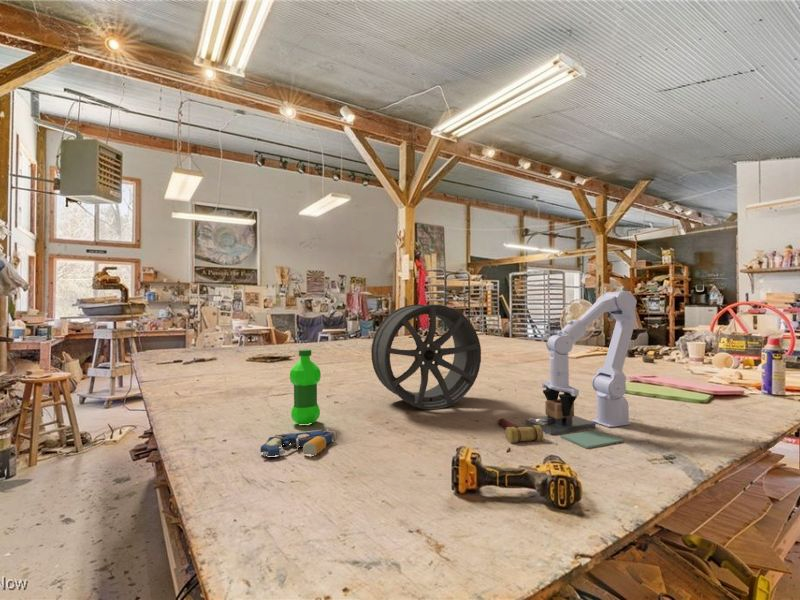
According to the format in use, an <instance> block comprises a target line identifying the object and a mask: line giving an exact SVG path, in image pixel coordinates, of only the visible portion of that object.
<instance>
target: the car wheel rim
mask: <svg viewBox="0 0 800 600" xmlns="http://www.w3.org/2000/svg"><path fill="white" fill-rule="evenodd" d="M422 315H429V327H428V331H427V335H426V336H425V338H424V341H423V339H422V337H421V336H420V334H419V332H417V331H416V329H415V328H414V326H412V324H411V323H410V322H409V321H410V320H412V319H414V318H416V317H418V316H422ZM437 318H438V319H440V320H441V321H442V322H443V323H444V324H445V326H446V327H447V328H448V330H446V332H445V333H443V334H442V335H441V336H439V337H438V338H436V339H435V340H434V338H435V335H436V329H437ZM402 327H405V328H406V329H407V330H408V332H409V334H410V335H411V336H412V338H413V341H414V342H415V345H416V348H415V349H398V348H392V345H393V342H394V340H395V337H396V336H397V334H398V332H399V331H400V329H401V328H402ZM451 337H452V339H453V340H452V341H453V346H454V347H442V348H441V346H442V345H444V344H445V343H446V342H448V340H450V338H451ZM481 347H482V346H481V343H480V338H479V336H478V333H477V330H476V329H475V327H474V325H473V324H472V323H471V321H470V320H469V319H468V318H467V317H466V316H465V315H464V314H463V313H461V312H459V311H458V310H456V309H455V308H452V307H449V306H447V305H441V304H411V305H410V304H409V305H404V306H402V307H399V308H398V309H395V310H393V311H392V312H391V313H389V314H388V315H387V316H386V317H385V318H384V319H383V321H382V322H381V323H380V324H379V326H378V327H377V329H376V331H375V333H374V336H373V339H372V343H371V350H370V351H371V363H372V367H373V371H374V372H375V375H376V377H377V379H378V380H379V382H380V383H381V384H382V385H383V386H384V387H385V388H386V389H387V390H388V391H390V392H391V393H393V394H395V395H396V396H397V397H399V398H400V399H401V400H402V401H403V402H405V403H407V404H408V405H411V406H413V407H414V408H419V409H421V410H431V411H433V409H434V410H441V409H444V408H447V407H450V406H452V405H454V404H456V403H457V402H458V401H460V400H461V399H462V398H464V397H465V396H466V394H467V393H468V392H469V391H470V390H471V389H472V387H473V386H474V384H475V382H476V380H477V379H478V375H479V372H480V367H481V363H482V360H481V359H482V348H481ZM436 351H437V352H436ZM391 354H392V355H399V356H406V357H413V358H414V360H413V362H412V364H411V365H410V366H409V368H407V370H406V371H405V372H403V373H402V374H401V375H399V376H398V377H396V376H395V374H394V371H393V369H392V363H391ZM448 355H453V361H452V363H451V362H448V361H447V360H445V359H444V358H443V357H444V356H448ZM438 366H441V367H443V368H445V369H447V370H448V371H449V372H447V374H446V376H445V377H443V375H442V373H441V371H440V369H439V367H438ZM419 368H420V385H419V390H418V392H415V391H409V390H407V389H405V388H404V387H403V386H402V385H401V383H402V382H404V381H405V380H407V379H408V378H410V377H411V376H412V375H413V374H415V373H416V372H417V371H418V370H419ZM429 371H430V372H431V374H432V375H433V377H434V378H435V379H436V380H437V383H438V384H436V385H435V386H434V387H432V388H430V389H428V390H427V386H428V382H429Z"/></svg>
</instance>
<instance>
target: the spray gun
mask: <svg viewBox="0 0 800 600" xmlns="http://www.w3.org/2000/svg"><path fill="white" fill-rule="evenodd" d="M336 436H337V435H336V431H331V430H330V429H329V428H328V427H326V429H323V428H322V429H316V430H315V429H314V430H306V431H301V432H300V431H299V432H298V431H297V432H291V433H283V434H275V435H272V436H269V437H268V438H267V439H266V442H265V443H263V444H262V445H261V446H260V449H259V450H260V453H261V452H263V456H264V457H265V456H266V455H267V456H275V455H279V454H280V455H284V454H285V453H286V451H288V450H290V449H291V448H293V447H297V449H298V448H299V446H300V447H303V448H302V452H303V455H304V454H311V455H315V454H317V453H319V452H320V451H321V450H323V449H324V448H325V449H326V447H327V445H328V444H329V442H330V443H331V442H333V441H334V442H336V441H335V440H337V438H336ZM332 440H333V441H332ZM290 443H291V445H289V444H290ZM327 443H328V444H327ZM283 444H284V446H285V447H284V446H283V447H281V445H283ZM279 447H281V448H279ZM297 449H296V450H297ZM299 449H300V448H299ZM325 449H324V450H325ZM324 450H323V451H324ZM321 452H322V451H321ZM321 452H320V453H321ZM320 453H319V454H320ZM280 455H279V456H280ZM317 455H318V454H317ZM263 456H262V457H263Z"/></svg>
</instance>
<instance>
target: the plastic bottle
mask: <svg viewBox="0 0 800 600" xmlns="http://www.w3.org/2000/svg"><path fill="white" fill-rule="evenodd" d="M298 356H299V357H300V360H299V361H298V362H297V363H296V364H294V365H293V366H292V368H291V369H290V372H289V380H290V382H291V384H292V385H293V406H292V408H291V413H290V414H291V415H290V416H291V417H290V418H291V419H292V421H293V422H295V423H296V424H297V423H298V424H309V423H313V422H314V423H316V422H317V421H318V419H319V418H320V416H321V409H320V406H319V405H318V383H319V382H320V381H321V373H322V372H321V370H320V367H319V366H318V365H317V364H316V363H315V362H314V361H312V360H311V356H312V349H309V348H308V349H305V348H304V349H299V350H298ZM314 423H313V424H314ZM298 424H297V425H298Z"/></svg>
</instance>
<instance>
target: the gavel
mask: <svg viewBox="0 0 800 600" xmlns="http://www.w3.org/2000/svg"><path fill="white" fill-rule="evenodd" d="M496 421H497V423H498V425H499V426H500V427H502V428H504V429H505V433H504V434H505V439H506V441H507V442H508V443H509V442H510V443H509V444H516V442H517V443H518V442H519V441H520V442H521V441H523V442H532V441H534V442H542V441H543V439H544V432H543V430H542V428H541V427H540V426H539V425H533V426H521V427H520V426H519V425H516V424H515V423H513V422H511V421H509V420H507V419H505V418H498V419H497V420H496Z"/></svg>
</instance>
